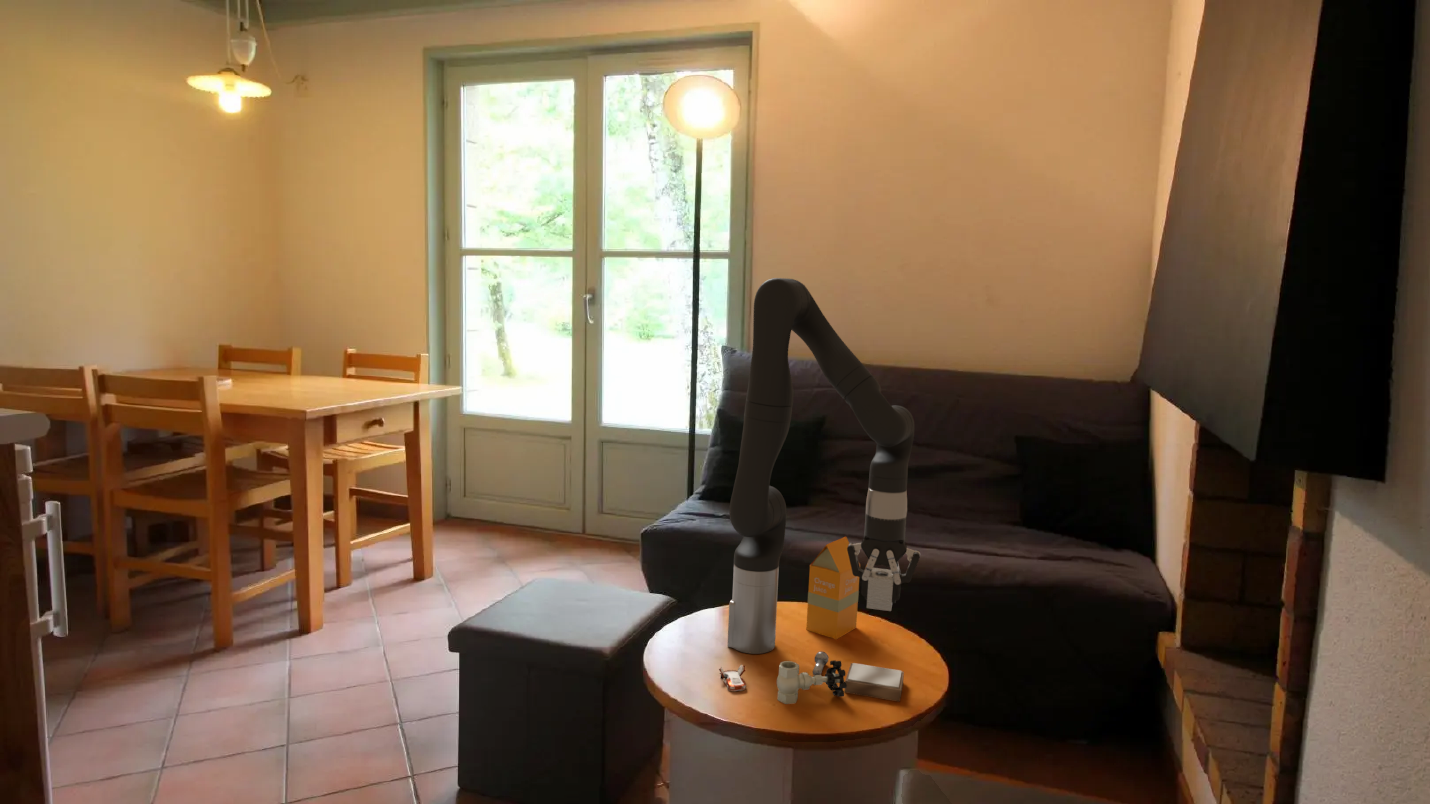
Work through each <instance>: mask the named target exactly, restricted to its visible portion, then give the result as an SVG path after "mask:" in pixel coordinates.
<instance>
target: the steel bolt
mask: <svg viewBox="0 0 1430 804" xmlns="http://www.w3.org/2000/svg"><path fill="white" fill-rule="evenodd" d="M814 662H815V665H814V667H813V670H812V676H814V675H821V676H822V673H823V672H822V671H823V670H824V667H825V666H826V665H827V664H828V662H829V655H828V654H827V652H825V651H823V650H821V651H818V652H816V654H815V655H814Z"/></svg>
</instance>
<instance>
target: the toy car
mask: <svg viewBox="0 0 1430 804" xmlns="http://www.w3.org/2000/svg"><path fill="white" fill-rule="evenodd" d="M718 670H719V672H720V673H719V674H720V679H722V681H723V682H724V684H725V685H726V686H725V687H726V689H727V691H731V692H740V691H745V690H746V689H747V683H746V681H745V679H744V678H743V677H741V676H742V675H743V674H744V673H745V672H746V665H743V664H740V665H739V667H738V668H737V669H735V670H733V669H732V670H730V669H728V670H724V669H723V667H722V666H720V668H718Z"/></svg>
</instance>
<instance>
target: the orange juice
mask: <svg viewBox="0 0 1430 804" xmlns="http://www.w3.org/2000/svg"><path fill="white" fill-rule="evenodd" d="M849 543H850V541H849V539H848V537H847V536H844V537H840V538H839V539H837V540H833V541H832V542H829V543H827V544H826V545H825V546H824V547H823V548H822V550H820V552H819V553H818V555H817V556H816V557H815V558H814V559H813V561H811V563H810V564H809V577H808V592H807V612H806V628H805V629H806V630H807V631H810V632H812V633H815V634H819V635H822V636H825V637H828V638H830V639H834V640H837V639H839V638H841V637H842V636H844V635H846V634H847V633H849V632H851V631H853V630H854V629H856V628H857V619H858V605H859V603H858V602H859V596H860V595H859V593H860V591H859V590H860V577H858V576H854V575H853V573H852V568H851V564H850V560H849V555H848V551H847V547H848V545H849ZM859 566H860V567H861V563H859Z"/></svg>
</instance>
